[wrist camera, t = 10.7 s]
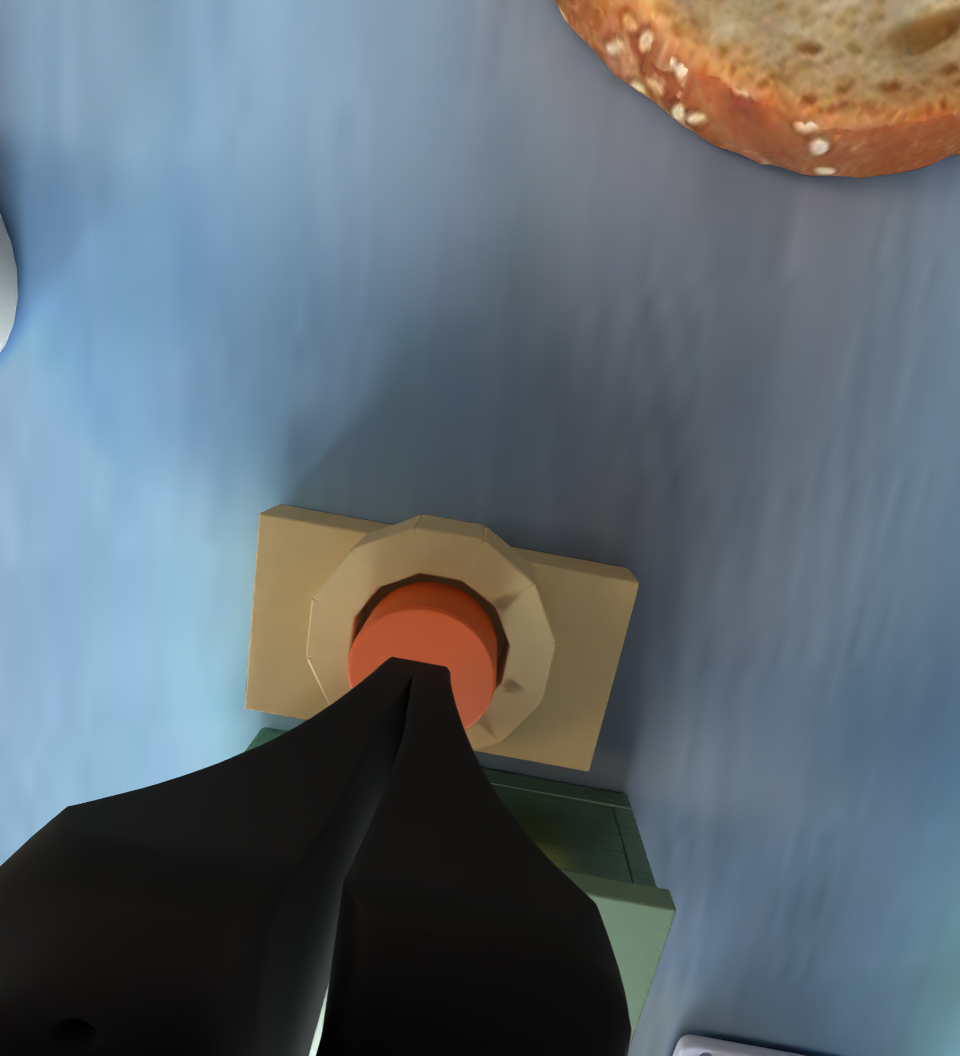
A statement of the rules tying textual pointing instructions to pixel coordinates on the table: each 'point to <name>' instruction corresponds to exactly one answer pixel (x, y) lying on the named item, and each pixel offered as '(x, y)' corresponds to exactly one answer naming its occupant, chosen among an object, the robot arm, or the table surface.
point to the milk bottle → (7, 286)
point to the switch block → (465, 563)
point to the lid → (617, 935)
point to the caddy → (567, 823)
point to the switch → (432, 641)
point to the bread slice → (793, 75)
